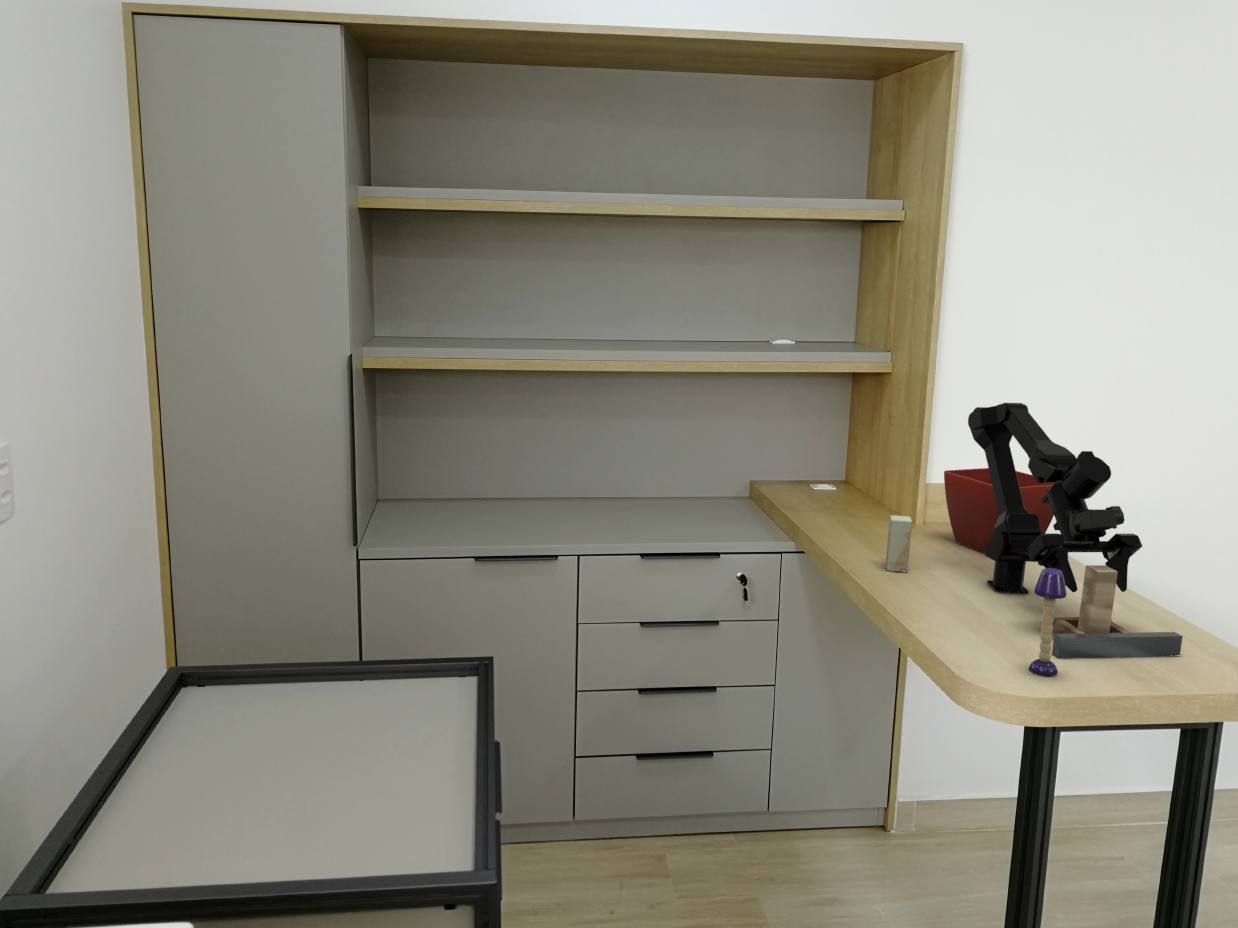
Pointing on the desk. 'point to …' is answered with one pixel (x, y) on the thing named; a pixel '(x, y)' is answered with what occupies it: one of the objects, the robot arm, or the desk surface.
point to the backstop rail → (1116, 645)
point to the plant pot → (987, 504)
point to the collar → (1071, 626)
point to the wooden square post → (1097, 599)
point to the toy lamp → (1048, 618)
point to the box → (898, 543)
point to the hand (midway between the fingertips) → (1099, 590)
